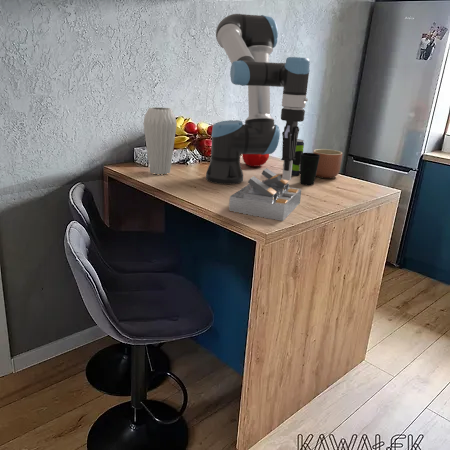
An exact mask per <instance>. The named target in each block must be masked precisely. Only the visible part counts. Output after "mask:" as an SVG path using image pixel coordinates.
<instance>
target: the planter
mask: <svg viewBox="0 0 450 450" xmlns="http://www.w3.org/2000/svg"><path fill="white" fill-rule="evenodd" d="M312 153H315V154H319V155H320V158H319V163H318V167H317V172H316V178H317V177H318V178H321V179H333V178H336V177H337V176H338V175H339V173H340V172H341V171H340V170H341V165H342V160H343V152H342V151H339V150H335V149H328V148H319V149H318V148H317V149H314V150H313V151H312Z"/></svg>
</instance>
